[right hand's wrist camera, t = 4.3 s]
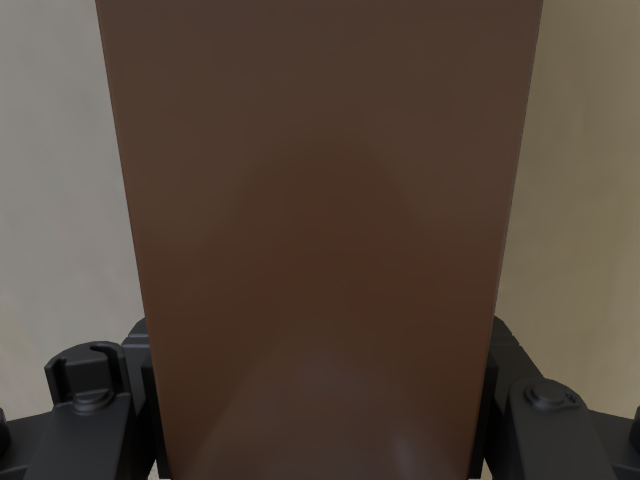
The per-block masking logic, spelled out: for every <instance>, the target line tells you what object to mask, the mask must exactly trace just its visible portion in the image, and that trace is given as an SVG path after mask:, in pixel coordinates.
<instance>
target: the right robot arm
mask: <svg viewBox="0 0 640 480" xmlns="http://www.w3.org/2000/svg"><path fill="white" fill-rule="evenodd" d="M44 370H45V374H46V377H47V381H48V385H49V389H50V393H51V397H52V400H53V404H54V407H53V409H52V411H50V412H47V413H43V414H39V415H35V416H30V417H26V418H21V419H16V420H12V421H7V422H6V418H5V415H4V412H3V409H1V408H0V480H148V476H149V473H150V471H151V469H152V466H153V464H154V462H155V459H156V463H157V469H158V474H159V479H171V478H170V471H169V465H168V459H167V452H166V446H165V440H164V433H163V427H162V421H161V414H160V408H159V402H158V395H157V389H156V383H155V376H154V370H153V364H152V357H151V351H150V345H149V338H148V332H147V326H146V319H145V318H143V319H142V320H140V321H139V322H137V323H136V325H135V326H134V327H133V329H132V330H131V332H130V333H129V334H128V337H126V338H125V340H124V341H123V343H122V344H121V346H120V345H119V344H117V343H113V342H109V341H93V342H88V343H84V344H79V345H76V346H74V347H71V348H69V349H67V350H64V351H62V352H61V353H59V354H58V355H56V356H55V357H53V358H52V359H51V360H50V361H49V362H48V363H47V365H46V366H45V367H44ZM484 458H485V460H486V462H487V465H488V467H489V470H490V472H491V474H492V477H493V478H492V480H640V406H639V407H638V408H637V411H636V414H635V417H634V420H633V419H628V418H623V417H619V416H614V415H609V414H605V413H600V412H596V411H593V410H589V409H588V408H587V406H586V404H585V403H584V401H583V400H582V399H581V397H580V396H579V395H578V394H577V393H575V392H574V391H573V390H571V389H570V388H569V387H567V386H565V385H563V384H561V383H559V382H556V381H554V380H550V379H546V378H544V377H543V375H542V374H541V373H540V371H539V370H538V368H537V367H536V366H535V364H534V363H533V362H532V360H531V359H530V358H529V356H528V355H527V353H526V352H525V351H524V349H523V348H522V347H521V346H519V342H518V341H517V340H516V338H515V337H514V336H512V333H511V331H510V330H509V329H508V327H507V326H506V325H505V323H504V322H503V321H502V320H500V319H499V318H497V317H496V316H494V319H493V325H492V331H491V338H490V344H489V351H488V357H487V363H486V370H485V376H484V383H483V389H482V396H481V402H480V408H479V415H478V421H477V428H476V434H475V440H474V447H473V453H472V460H471V466H470V472H469V479H481V473H482V467H483V461H484Z"/></svg>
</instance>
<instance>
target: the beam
mask: <svg viewBox="0 0 640 480" xmlns="http://www.w3.org/2000/svg"><path fill="white" fill-rule="evenodd" d="M95 2H96V9H97V15H98V21H99V28H100V34H101V40H102V47H103V53H104V59H105V66H106V72H107V78H108V85H109V91H110V97H111V104H112V110H113V116H114V123H115V129H116V135H117V142H118V148H119V154H120V161H121V167H122V173H123V180H124V186H125V193H126V199H127V205H128V212H129V218H130V224H131V231H132V237H133V243H134V250H135V256H136V262H137V269H138V275H139V281H140V288H141V294H142V300H143V307H144V313H145V319H146V326H147V332H148V338H149V345H150V351H151V357H152V364H153V370H154V376H155V383H156V389H157V395H158V402H159V408H160V414H161V421H162V427H163V433H164V440H165V446H166V452H167V459H168V465H169V471H170V478H171V480H468V479H469V472H470V466H471V460H472V453H473V447H474V440H475V434H476V428H477V421H478V415H479V408H480V402H481V396H482V389H483V383H484V376H485V370H486V363H487V357H488V351H489V344H490V338H491V331H492V325H493V319H494V312H495V306H496V299H497V293H498V287H499V280H500V274H501V267H502V261H503V255H504V248H505V242H506V235H507V229H508V223H509V216H510V210H511V203H512V197H513V190H514V184H515V178H516V171H517V165H518V158H519V152H520V146H521V139H522V133H523V126H524V120H525V114H526V107H527V101H528V94H529V88H530V82H531V75H532V69H533V62H534V56H535V50H536V43H537V37H538V30H539V24H540V18H541V11H542V5H543V0H95Z"/></svg>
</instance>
